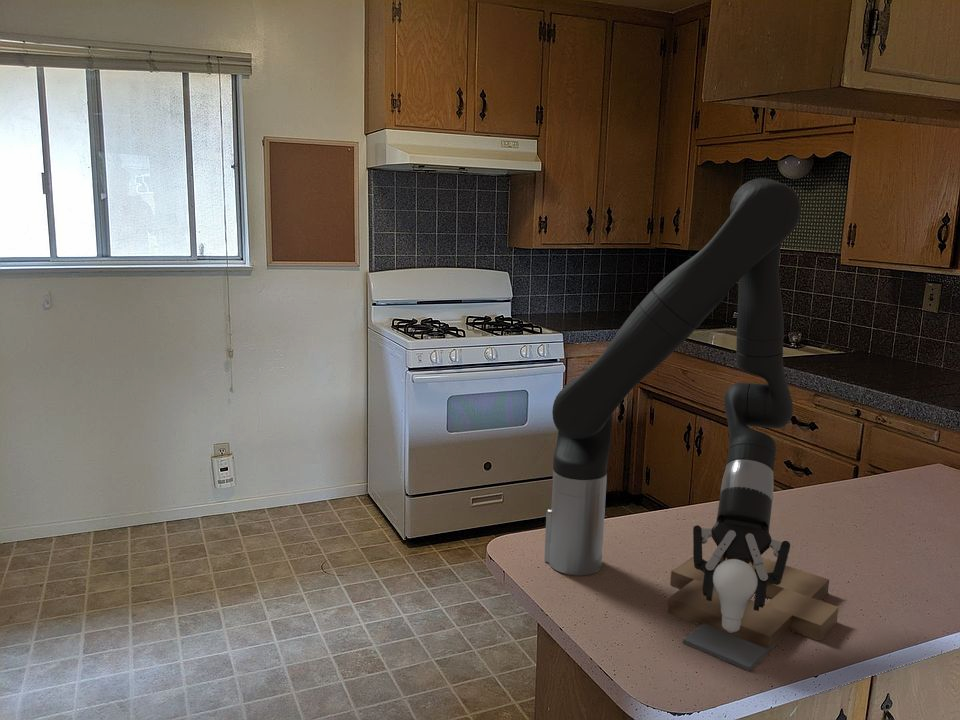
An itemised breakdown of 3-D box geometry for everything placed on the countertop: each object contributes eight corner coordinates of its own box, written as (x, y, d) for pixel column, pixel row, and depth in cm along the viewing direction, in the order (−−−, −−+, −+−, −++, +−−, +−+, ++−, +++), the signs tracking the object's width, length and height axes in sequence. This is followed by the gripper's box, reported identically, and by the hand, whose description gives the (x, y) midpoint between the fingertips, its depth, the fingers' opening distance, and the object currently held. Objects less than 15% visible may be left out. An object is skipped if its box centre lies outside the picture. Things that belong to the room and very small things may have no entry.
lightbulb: (718, 615, 117) (724, 547, 115) (758, 630, 113) (765, 560, 111) (701, 632, 112) (707, 562, 110) (743, 648, 108) (750, 575, 106)
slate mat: (682, 642, 113) (683, 639, 113) (711, 619, 119) (711, 616, 119) (749, 671, 106) (749, 667, 106) (775, 645, 113) (775, 641, 113)
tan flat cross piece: (644, 602, 124) (645, 588, 124) (713, 555, 142) (714, 542, 141) (797, 664, 108) (799, 648, 108) (854, 602, 126) (856, 588, 125)
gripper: (696, 478, 118) (679, 584, 110) (798, 493, 113) (788, 606, 104) (698, 499, 124) (681, 601, 116) (795, 514, 119) (785, 623, 110)
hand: (732, 603), depth 110 cm, fingers closed on lightbulb, 6 cm apart
